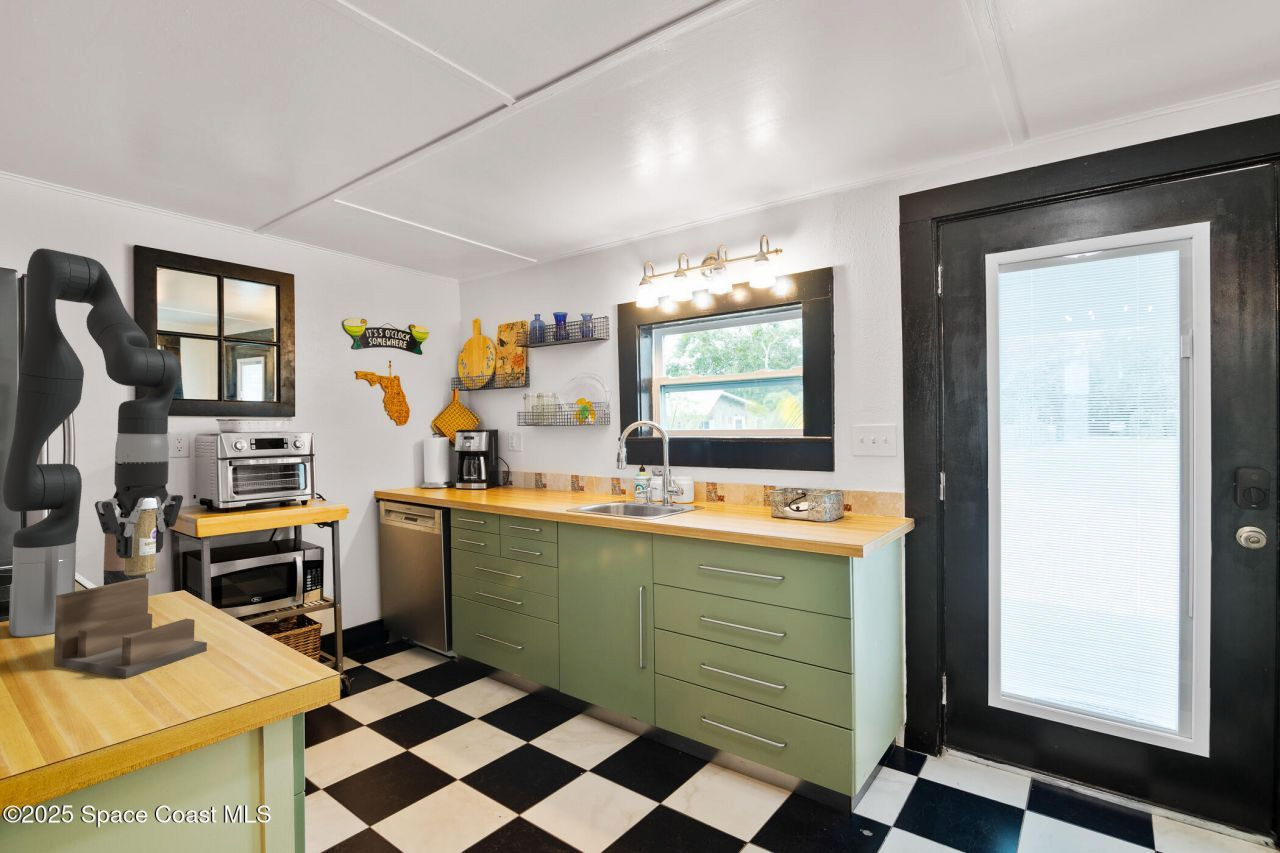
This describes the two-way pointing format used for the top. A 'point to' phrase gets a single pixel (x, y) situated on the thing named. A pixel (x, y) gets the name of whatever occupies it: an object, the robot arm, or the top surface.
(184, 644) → the wooden tiered slot stand
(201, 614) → the top surface
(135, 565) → the sprinkles bottle
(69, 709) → the top surface
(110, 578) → the travel mug
